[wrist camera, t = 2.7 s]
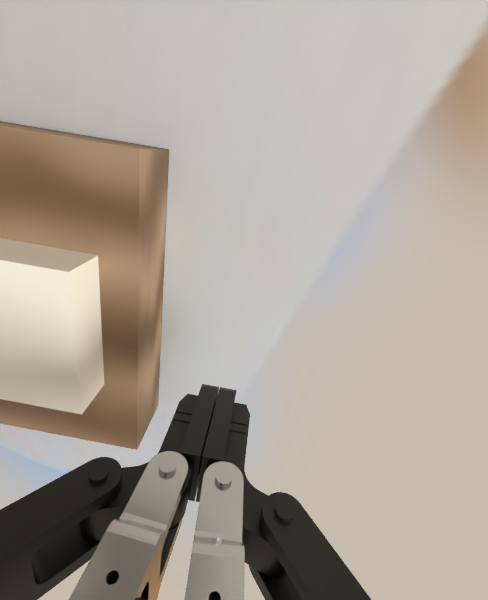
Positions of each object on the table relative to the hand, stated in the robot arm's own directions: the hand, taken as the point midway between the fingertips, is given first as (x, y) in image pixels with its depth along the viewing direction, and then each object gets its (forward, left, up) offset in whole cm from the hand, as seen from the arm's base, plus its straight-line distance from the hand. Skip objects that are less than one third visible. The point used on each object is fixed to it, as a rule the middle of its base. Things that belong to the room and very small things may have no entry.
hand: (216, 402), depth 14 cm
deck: (0, -11, -8) cm, 13 cm away
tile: (0, -10, -4) cm, 11 cm away
